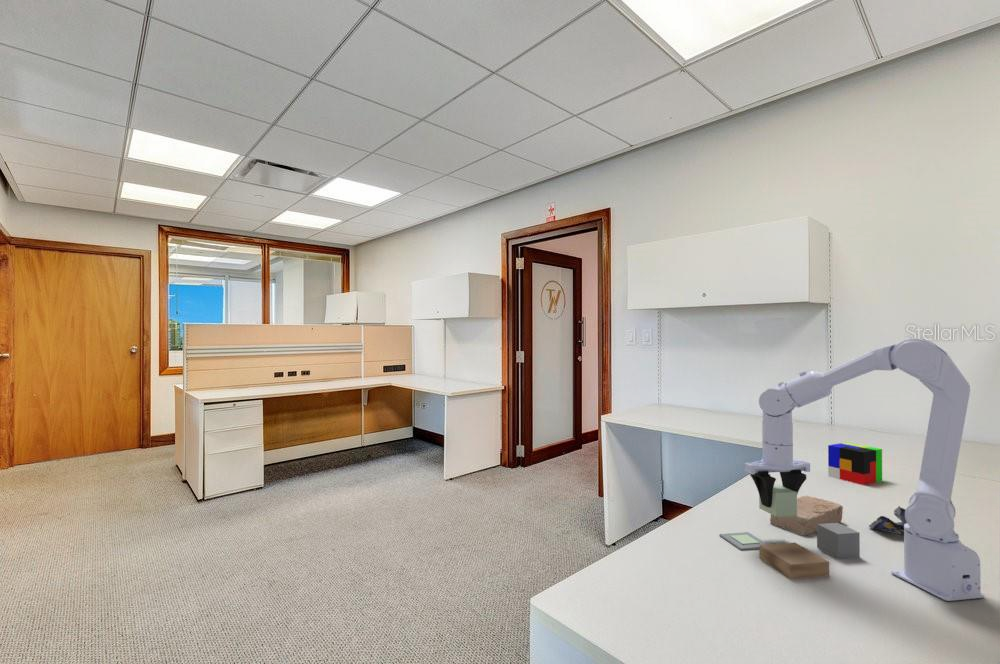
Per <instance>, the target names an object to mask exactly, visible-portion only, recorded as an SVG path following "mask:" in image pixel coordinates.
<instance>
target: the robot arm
mask: <svg viewBox="0 0 1000 664" xmlns="http://www.w3.org/2000/svg"><path fill="white" fill-rule="evenodd" d="M897 369H898V370H900V371H902V372H904V373H906V374H908V375H909V376H911V377H914V378H916V379H918V380H919V382H920V383H921V384H922V385H923V386H925V388H927V389H928V390H929V391H930V392H931V393H932V394H933V395H932V402H931V407H930V414H929V419H928V424H927V430H926V437H925V442H924V448H923V453H922V454H923V455H922V459H921V465H920V471H919V477H918V481H917V485H916V490H915V492H914V493H913V494H912V495H911V496H910V498H909V502H908V506H907V507H906V508H905V509H906V511H905V519H906V522H907V523H906V524H904V536H903V539H904V540H903V547H904V548H903V554H904V555H903V558H904V559H903V560H904V561H903V565H904V566H903V568H902V569H893V570H891V571H890V572H891V574H892V575H894V576H896V577H898V578H900V579H902V580H904V581H906V582H908V583H910V584H912V585H915V587H918V588H920V589H922V590H924V591H926V592H928V593H930V594H932V595H934V596H936V597H938V598H939V599H942V600H943V601H946V602H951V601H952V602H953V601H961V600H962V601H963V600H972V599H973V600H974V599H980V598H985V594H984V593H982V592H981V586H982V585H981V583H982V581H981V560H980V557H979V555H978V553H977V552H976V551H975V550H973V549H972V548H970V547H968V546H966V545H965V544H964V543H963V542H962V541H961V540H960V539H959V538H960V536H959V534H958V533H957V532H956V531H955V521H954V520H955V517H956V513H957V512H956V508H955V504H954V503H953V501H952V494H953V487H954V483H955V478H956V477H955V476H956V470H957V466H958V460H959V455H960V454H959V453H960V450H961V444H962V439H963V433H964V428H965V427H964V426H965V422H966V417H967V410H968V406H969V399H970V394H971V385H970V384H969V381H968V380H967V378H966V377H965V376H964V375H963V373H962V372H961V370H960V369H959V367H958V366H957V365H956V363H955V362H954V361H953V359H952V358H951V356H950V355H949V353H948V352H947V351H945V350H944V349H943V348H941V347H939V346H938V345H937V344H936V343H934V342H932V341H930V340H927V339H924V338H908V339H904V340H901V341H899V342H898V343H897V344H896V343H895V344H889V345H886V346H883V347H880V348H876V349H873V350H869V351H868V352H866V353H863V354H861V355H859V356H857V357H855V358H853V359H850V360H849V361H846V362H844V363H842V364H840V365H838V366H836V367H833V368H832V369H829V370H827V371H825V372H820V371H816V370H811V371H807V370H804V371H802V372H799V373H798V374H799V376H797V377H794V378H792V379H790V380H789V381H786V382H784V381H781V382H779V383H777V387H774V388H772V387H770V388H767V389H766V390H765V391H763V392H762V393H761V394H760V396H759V398H758V405H759V408H760V409H761V410H762V421H761V425H762V427H761V428H762V431H761V432H762V433H761V434H762V435H761V436H762V437H761V438H762V439H761V440H762V458H760V460H757V461H752V462H744V472H745V473H747V474H749V476H750V477H751V478H752V480H753V482H754V485H755V487H756V489H757V492H758V496H759V495H760V499H761V503H762V505H764V506H766V507H771V505H772V492H773V486H774V485H775V482H776V480H777V478H776V477H773V476H771V474H770V473H779V474H780V475H779V476H780V479H781V484H782V485H781V486H783V487H786V488H788V489H791V490H793V491H795V492H797V495H798V494H799V492H800V489H801V488H802V485H803V484H804V483H805V481H806V480H807V474H806V473H804V472H807V473H809V472H811V463H810V462H808V461H805V460H794V450H793V449H794V441H793V439H794V438H793V436H794V434H793V433H794V432H793V431H794V430H793V429H794V427H793V426H794V425H793V410H794V409H795V408H797V409H798V408H802V407H804V406H806V405H809V404H811V403H814V402H817V401H819V400H822V399H824V398H826V397H829V396H830V395H831V393H832V389H833V387H834V386H837V385H840V384H843V383H845V382H848V381H850V380H852V379H855V378H857V377H861V376H863V375H865V374H868V373H871V372H873V371H894V370H897ZM802 472H803V473H802Z"/></svg>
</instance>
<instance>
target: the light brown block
mask: <svg viewBox="0 0 1000 664" xmlns="http://www.w3.org/2000/svg"><path fill="white" fill-rule="evenodd" d="M759 559H760V560H762V561H763V562H764V563H766V564H768V565H769V566H770V567H772V568H774V569H775V570H777V571H779V572H780V573H781V574H783V575H784V576H786V577H787V578H789V579H790V580H794V579H795V580H797V579H805V578H806V579H807V578H809V579H810V578H820V577H829V576H830V561H829V560H827V559H825V558H824V557H822V556H820V555H818V554H817V553H815V552H813V551H811V550H809V549H808V548H805V547H804V546H802V545H801V544H799V543H797V542H783V543H781V542H780V543H767V544H766V545H760V549H759Z"/></svg>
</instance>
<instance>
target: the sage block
mask: <svg viewBox="0 0 1000 664" xmlns="http://www.w3.org/2000/svg"><path fill="white" fill-rule="evenodd" d="M797 498H798V494H797V492H795V491H793V490H791V489H788V488H786V487H783V485H780V484H774V486H773V492H772V505H771V507H766V506H764V505H762V503H761V499H760V495H759V494H758V501H759V502H758V503H759V504H758V506H759V509H761V510H762V511H764V512H766V513H768V514H770V515H771V514H772V515H774V516H776V517H782V516H797Z"/></svg>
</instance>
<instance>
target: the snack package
mask: <svg viewBox="0 0 1000 664" xmlns="http://www.w3.org/2000/svg"><path fill="white" fill-rule="evenodd" d="M905 511H906V508H903V507H901V506H900V505H898V507H896V508H895V509H894V510H893V515H894V516H895V517H896V518H897V519H898V520H900V521H901V522H900V521H898V522H895V521H893V520H892V519H890V518H889V517H887V516H884V515H881V516H880V515H879V517H877V518H876V520H875V521H873V522H871V523H870V524H868V526H869V528H870V529H871V530H874V529H876V530H880V531H885V532H887V533H893V534H895V535H899V536H903V537H904V524H906V523H907V522H906V519H905Z"/></svg>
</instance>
